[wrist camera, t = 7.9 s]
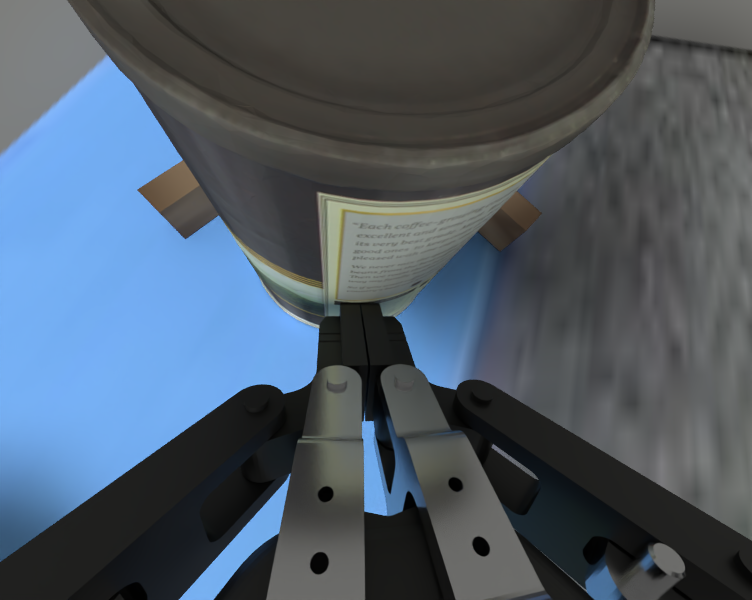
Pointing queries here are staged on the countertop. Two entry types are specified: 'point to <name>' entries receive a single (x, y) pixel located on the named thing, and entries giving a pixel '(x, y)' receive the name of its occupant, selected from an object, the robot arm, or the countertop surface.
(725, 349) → the countertop surface
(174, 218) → the bracket
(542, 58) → the coffee can
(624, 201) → the countertop surface
